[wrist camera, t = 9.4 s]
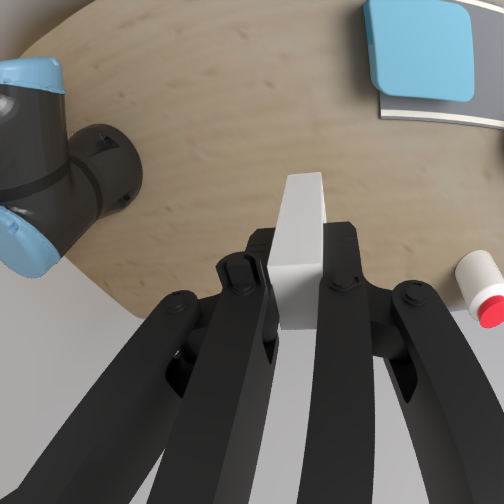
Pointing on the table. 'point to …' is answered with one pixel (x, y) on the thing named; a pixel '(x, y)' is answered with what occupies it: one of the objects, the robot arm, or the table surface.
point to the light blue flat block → (420, 49)
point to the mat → (485, 77)
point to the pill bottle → (481, 288)
